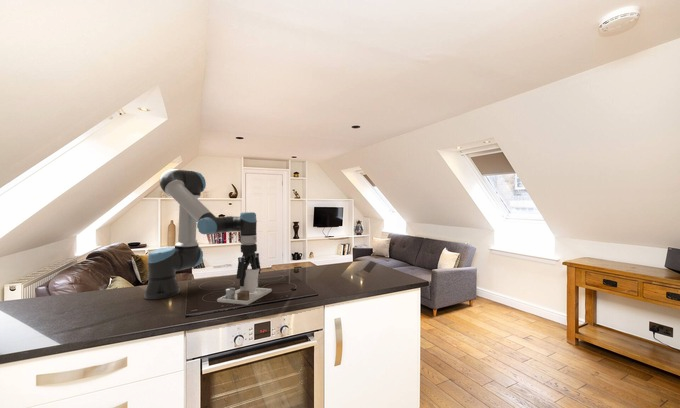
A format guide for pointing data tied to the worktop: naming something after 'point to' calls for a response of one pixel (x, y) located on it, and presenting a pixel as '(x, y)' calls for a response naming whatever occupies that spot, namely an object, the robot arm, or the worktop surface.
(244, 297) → the walnut block
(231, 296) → the metal spacer
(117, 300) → the worktop surface
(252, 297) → the tray
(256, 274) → the cup
